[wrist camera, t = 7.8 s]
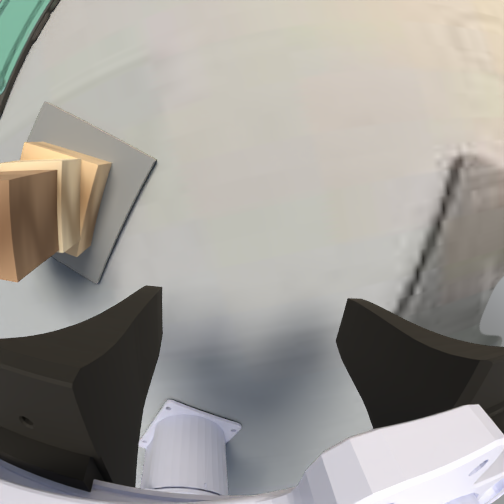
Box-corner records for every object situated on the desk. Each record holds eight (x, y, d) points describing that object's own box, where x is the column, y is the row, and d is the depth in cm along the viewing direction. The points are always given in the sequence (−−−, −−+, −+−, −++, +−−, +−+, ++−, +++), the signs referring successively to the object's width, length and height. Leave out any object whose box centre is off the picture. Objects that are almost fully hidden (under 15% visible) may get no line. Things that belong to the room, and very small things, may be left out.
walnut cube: (59, 250, 14) (17, 282, 10) (4, 244, 14) (-40, 271, 10) (57, 169, 13) (9, 180, 9) (0, 171, 12) (-49, 182, 8)
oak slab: (90, 245, 19) (76, 257, 17) (26, 220, 18) (9, 228, 16) (112, 163, 18) (98, 165, 16) (43, 141, 17) (24, 142, 14)
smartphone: (-48, 104, 13) (29, -43, 10) (-40, 104, 15) (35, -38, 11) (-6, 121, 15) (85, -44, 11) (3, 122, 16) (90, -37, 13)
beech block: (80, 239, 17) (63, 252, 14) (21, 235, 16) (0, 246, 14) (81, 158, 15) (62, 160, 13) (19, 160, 15) (-3, 163, 12)
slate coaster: (99, 280, 21) (96, 284, 20) (5, 220, 18) (1, 222, 18) (157, 159, 19) (155, 159, 18) (48, 102, 16) (44, 101, 16)
